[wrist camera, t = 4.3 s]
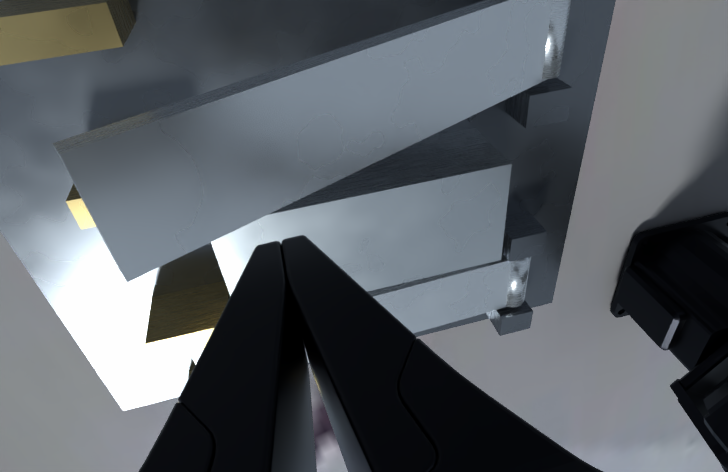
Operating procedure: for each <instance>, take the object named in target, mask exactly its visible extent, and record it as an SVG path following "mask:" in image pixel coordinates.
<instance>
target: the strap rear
mask: <svg viewBox="0 0 728 472" xmlns="http://www.w3.org/2000/svg"><path fill="white" fill-rule="evenodd" d="M530 261H531V257H527V258H523V259H519V260H515V261H510V262H509V261H508V260H507V258H506V257H505V256H504V254H503V253H502V256H501V260H499V261H494V262H490V263H486V264H482V265H478V266H473V267H469V268H465V269H461V270H456V271H452V272H448V273H444V274H439V275H435V276H431V277H427V278H423V279H418V280H414V281H410V282H406V283H401V284H397V285H393V286H389V287H384V288H380V289H376V290H372V291H368V293H369V294H370V295H371V296H372V297H373V298H375V299H376V300H377V301H378V302H379V303H380V304H381V305H382V306H383V307H384V308H386V309H387V310H388V311H389V312H390V313H391V314H392V315H393V316H394V317H396V318H397V319H398V320H399V321H400V322H401V323H402V324H403V325H404V326H405V327H407V328H408V329H409V330H410V331H411V332H412V333H416V332H420V331H424V330H427V329H431V328H434V327H438V326H441V325H445V324H448V323H452V322H455V321H459V320H462V319H466V318H470V317H473V316H477V315H480V314H484V313H487V312H491V311H494V310H498V309H501V308H505V307H519V306H520V305H522V303H523V302H524V298H525V292H526V286H527V280H528V273H529V267H530ZM305 349H306V348H305ZM202 351H203V350H201V351H197V352H193V353H190V354H191V356H192V358H193V360H194V363H195V365H196V363H197V361H198V359H199V357H200V355H201V353H202ZM306 354H307V352H306ZM307 360H308V356H307ZM308 363H309V360H308Z"/></svg>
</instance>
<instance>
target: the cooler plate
mask: <svg viewBox="0 0 728 472" xmlns="http://www.w3.org/2000/svg"><path fill="white" fill-rule="evenodd" d="M480 1H483V0H0V231H1V233H2V234H3V236H4V237H5V239H6V240H7V241H8V243H9V244H10V246H11V247H12V249H13V250H14V252H15V253H16V255H17V256H18V258H19V259H20V260H21V262H22V263H23V265H24V266H25V268H26V269H27V271H28V272H29V274H30V275H31V277H32V278H33V279H34V281H35V282H36V284H37V285H38V287H39V288H40V290H41V291H42V293H43V294H44V296H45V297H46V298H47V300H48V301H49V303H50V304H51V306H52V307H53V309H54V310H55V312H56V313H57V315H58V316H59V317H60V319H61V320H62V322H63V323H64V325H65V326H66V328H67V329H68V331H69V332H70V333H71V335H72V336H73V338H74V339H75V341H76V342H77V344H78V345H79V347H80V348H81V350H82V351H83V352H84V354H85V355H86V357H87V358H88V360H89V361H90V363H91V364H92V366H93V367H94V369H95V370H96V371H97V373H98V374H99V376H100V377H101V379H102V380H103V382H104V383H105V385H106V386H107V388H108V389H109V390H110V392H111V393H112V395H113V396H114V398H115V399H116V401H117V402H118V404H119V405H120V407H121V408H122V409H123V411H125V410H129V409H133V408H137V407H141V406H145V405H149V404H153V403H156V402H160V401H164V400H168V399H172V398H176V397H180V395H181V393H182V391H183V389H184V387H185V385H186V383H187V381H188V379H189V377H190V375H191V373H192V371H193V369H194V367H195V363H194V360H193V358H192V356H191V354H190V353H193V352H197V351H201V350H203V349H204V347H205V345H206V343H207V341H208V339H209V338H210V336H211V334H212V332H213V330H214V328H215V326H216V324H217V322H218V320H219V318H220V316H221V314H222V312H223V310H224V308H225V306H226V304H227V302H228V300H229V298H230V296H231V294H232V292H233V290H234V288H235V286H236V284H237V282H238V280H239V278H240V277H241V275H242V273H243V271H244V269H245V267H246V265H247V263H248V261H249V259H250V257H251V255H252V253H253V251H254V249H255V247H256V246H257V245H260V244H265V243H269V242H273V241H279V242H280V243H281V242H282V240H283V239H286V238H291V237H295V236H299V235H304V236H306V237H307V238H308V239H309V240H311V241H312V242H313V243H314V244H315V245H316V246H317V247H318V248H319V249H320V250H322V251H323V252H324V253H325V254H326V255H327V256H328V257H329V258H330V259H332V260H333V261H334V262H335V263H336V264H337V265H338V266H339V267H340V268H341V269H343V270H344V271H345V272H346V273H347V274H348V275H349V276H350V277H351V278H352V279H354V280H355V281H356V282H357V283H358V284H359V285H360V286H361V287H362V288H364V289H365V290H366V291H367V292H368V291H372V290H376V289H380V288H384V287H389V286H393V285H397V284H401V283H406V282H410V281H414V280H418V279H423V278H427V277H431V276H435V275H439V274H444V273H448V272H452V271H456V270H461V269H465V268H469V267H473V266H478V265H482V264H486V263H490V262H494V261H499V260H501V256H502V253H503V254H504V256H505V257H506V258H507V260H508V261H509V262H510V261H515V260H519V259H523V258H527V257H531V261H530V267H529V273H528V280H527V286H526V292H525V298H524V302H523V303H522V305H520V306H519V307H505V308H501V309H498V310H494V311H491V312H487V313H484V314H480V315H477V316H473V317H470V318H466V319H462V320H459V321H455V322H452V323H448V324H445V325H441V326H438V327H434V328H431V329H427V330H424V331H420V332H416V333H413V334H414V335H415V336H416V337H418V336H421V335H425V334H429V333H433V332H437V331H441V330H445V329H449V328H453V327H457V326H461V325H465V324H469V323H473V322H477V321H481V320H485V319H490V321H491V322H492V324H493V325H494V327H495V329H496V330H497V332H498V334H499V335H500V336H501V335H505V334H509V333H513V332H516V331H520V330H524V329H528V328H530V325H531V320H532V314H533V310H532V309H531V308H532V307H536V306H540V305H544V304H548V303H552V300H553V295H554V291H555V286H556V281H557V276H558V272H559V267H560V262H561V257H562V253H563V248H564V243H565V238H566V234H567V229H568V224H569V219H570V215H571V210H572V205H573V200H574V196H575V191H576V186H577V181H578V177H579V172H580V167H581V162H582V158H583V153H584V148H585V143H586V139H587V134H588V129H589V124H590V120H591V115H592V110H593V105H594V101H595V96H596V91H597V86H598V82H599V77H600V72H601V67H602V63H603V58H604V53H605V48H606V44H607V39H608V34H609V29H610V25H611V20H612V15H613V10H614V6H615V1H616V0H571V5H570V11H569V17H568V24H567V30H566V36H565V43H564V49H563V55H562V61H561V68H560V74H559V76H557V77H555V78H552V79H547V80H545V81H543V82H541V83H539V84H537V85H535V86H533V87H530V88H528V89H526V90H524V91H522V92H520V93H518V94H516V95H514V96H512V97H510V98H508V99H506V100H504V101H502V102H499V103H497V104H495V105H493V106H491V107H489V108H487V109H485V110H483V111H481V112H479V113H477V114H475V115H473V116H471V117H468V118H466V119H464V120H462V121H460V122H458V123H456V124H454V125H452V126H450V127H448V128H446V129H444V130H442V131H440V132H437V133H435V134H433V135H431V136H429V137H427V138H425V139H423V140H421V141H419V142H417V143H415V144H413V145H411V146H409V147H406V148H404V149H402V150H400V151H398V152H396V153H394V154H392V155H390V156H388V157H386V158H384V159H382V160H380V161H378V162H375V163H373V164H371V165H369V166H367V167H365V168H363V169H361V170H359V171H357V172H355V173H353V174H351V175H349V176H347V177H344V178H342V179H340V180H338V181H336V182H334V183H332V184H330V185H328V186H326V187H324V188H322V189H320V190H318V191H316V192H313V193H311V194H309V195H307V196H305V197H303V198H301V199H299V200H297V201H295V202H293V203H291V204H289V205H287V206H284V207H282V208H280V209H278V210H276V211H274V212H272V213H270V214H268V215H266V216H264V217H262V218H260V219H258V220H256V221H253V222H251V223H249V224H247V225H245V226H243V227H241V228H239V229H237V230H235V231H233V232H231V233H229V234H227V235H225V236H222V237H220V238H218V239H216V240H214V241H212V242H210V243H208V244H206V245H204V246H202V247H200V248H198V249H196V250H194V251H191V252H189V253H187V254H185V255H183V256H181V257H179V258H177V259H175V260H173V261H171V262H169V263H167V264H165V265H163V266H160V267H158V268H156V269H154V270H152V271H150V272H148V273H146V274H144V275H142V276H140V277H138V278H136V279H134V280H132V281H129V282H127V281H126V280H125V278H124V276H123V275H122V273H121V272H120V270H119V268H118V266H117V265H116V263H115V261H114V259H113V257H112V255H111V253H110V251H109V249H108V248H107V246H106V244H105V242H104V240H103V238H102V236H101V234H100V232H99V231H98V229H97V227H96V225H95V223H94V221H93V219H92V217H91V215H90V214H89V212H88V210H87V208H86V206H85V204H84V202H83V200H82V198H81V196H80V195H79V193H78V191H77V189H76V187H75V185H74V183H73V181H72V179H71V178H70V176H69V174H68V172H67V170H66V168H65V166H64V164H63V162H62V161H61V159H60V157H59V155H58V153H57V151H56V149H55V147H54V145H53V144H52V143H55V142H58V141H61V140H64V139H67V138H70V137H73V136H76V135H79V134H82V133H85V132H88V131H91V130H94V129H97V128H100V127H103V126H106V125H109V124H112V123H115V122H118V121H121V120H124V119H127V118H130V117H133V116H136V115H139V114H142V113H145V112H148V111H151V110H154V109H157V108H160V107H163V106H166V105H169V104H172V103H175V102H178V101H182V100H185V99H188V98H191V97H194V96H197V95H200V94H203V93H206V92H209V91H212V90H215V89H218V88H221V87H224V86H227V85H230V84H233V83H236V82H239V81H242V80H245V79H248V78H251V77H254V76H257V75H260V74H263V73H266V72H269V71H272V70H275V69H278V68H281V67H284V66H287V65H290V64H293V63H296V62H299V61H302V60H305V59H308V58H311V57H314V56H317V55H320V54H323V53H326V52H329V51H332V50H335V49H338V48H341V47H344V46H347V45H350V44H353V43H356V42H359V41H362V40H366V39H369V38H372V37H375V36H378V35H381V34H384V33H387V32H390V31H393V30H396V29H399V28H402V27H405V26H408V25H411V24H414V23H417V22H420V21H423V20H426V19H429V18H432V17H435V16H438V15H441V14H444V13H447V12H450V11H453V10H456V9H459V8H462V7H465V6H468V5H471V4H474V3H477V2H480ZM308 364H310V363H308Z"/></svg>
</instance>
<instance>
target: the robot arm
mask: <svg viewBox="0 0 728 472" xmlns="http://www.w3.org/2000/svg"><path fill="white" fill-rule="evenodd" d="M610 311H611V313H612V314H613V315H614V316H615V317H617V318H618V317H623V316H626V315H630V316H631V317H632V318H633V320H634V321H635V322H636V323H637V324H638V325H639V326H640V327H641V328H642V329H643V330H644V331H645V332H646V333H647V335H648V336H649V337H650V338H651V339H652V340H653V341H654V342H655V343H656V344H657V345H658V346H659V347H660V348H661V349H663V350H670V351H671V352H672V353H673V354H674V355H675V356H676V358H677V359H678V360H679V361H680V362H681V363H682V364H683V365H684V366H685V367H686V368H687V369H688V370H689V372H688V373H687V374H686V375H685V376H683V377H682V378H681V379H677V380H676V381H674V382H673V383H672V384H671V385H670V387H671V389H672V390H673V391H674V393H675V394H676V396H677V397H678V402H679V403H680V405H681V406H682V407H683V409H684V410H685V412H686V413H687V415H688V416H689V418H690V419H691V421H692V422H693V424H694V425H695V427H696V428H697V429H698V431H699V432H700V434H701V435H702V437H703V438H704V440H705V441H706V443H707V444H708V446H709V447H710V449H711V450H712V451H713V453H714V454H715V456H716V457H717V459H718V460H719V462H720V464H721V466H722V468H723V469H724V471H725V472H728V212H724V213H720V214H716V215H712V216H708V217H703V218H699V219H695V220H691V221H687V222H682V223H678V224H674V225H670V226H666V227H661V228H657V229H653V230H649V231H645V232H641V233H639V234H637V235H636V236H635V237H634V238H633V240H632V243H631V246H630V249H629V252H628V255H627V258H626V262H625V265H624V268H623V271H622V274H621V277H620V280H619V284H618V287H617V290H616V293H615V296H614V299H613V302H612V306H611V309H610ZM305 348H306V349H305ZM306 352H307V354H306ZM307 356H308V360H309V363H310V366H311V369H312V372H313V375H314V378H315V381H316V383H317V386H318V389H319V392H320V394H321V397H322V400H323V403H324V406H325V408H326V411H327V414H328V417H329V419H330V422H331V425H332V428H333V431H334V433H335V436H336V439H337V442H338V444H339V447H340V450H341V453H342V456H343V458H344V461H345V464H346V467H347V469H348V472H603V471H601V470H599V469H597V468H595V467H593V466H591V465H589V464H588V463H586V462H584V461H582V460H581V459H579V458H578V457H576V456H575V455H573V454H572V453H570V452H569V451H567V450H566V449H564V448H563V447H561V446H560V445H559V444H557V443H556V442H554V441H553V440H551V439H550V438H549V437H547V436H546V435H544V434H543V433H541V432H540V431H539V430H537V429H536V428H534V427H533V426H531V425H530V424H529V423H527V422H526V421H524V420H523V419H522V418H520V417H519V416H517V415H516V414H514V413H513V412H512V411H510V410H509V409H507V408H506V407H504V406H503V405H502V404H500V403H499V402H497V401H496V400H494V399H493V398H492V397H490V396H489V395H487V394H486V393H485V392H483V391H482V390H481V389H479V388H478V387H477V386H475V385H474V384H473V383H471V382H470V381H469V380H467V379H466V378H465V377H463V376H462V375H460V374H459V373H458V372H457V371H456V370H454V369H453V368H452V367H451V366H450V365H449V364H447V363H446V362H445V361H444V360H443V359H441V358H440V357H439V356H438V355H437V354H435V353H434V352H433V351H432V350H431V349H430V348H429V347H428V346H427V345H426V344H425V343H423V342H422V341H421V340H420V339H416V336H415V335H414V334H413V333H412V332H411V331H410V330H409V329H408V328H407V327H405V326H404V325H403V324H402V323H401V322H400V321H399V320H398V319H397V318H396V317H394V316H393V315H392V314H391V313H390V312H389V311H388V310H387V309H386V308H384V307H383V306H382V305H381V304H380V303H379V302H378V301H377V300H376V299H375V298H373V297H372V296H371V295H370V294H369V293H368V292H367V291H366V290H365V289H364V288H362V287H361V286H360V285H359V284H358V283H357V282H356V281H355V280H354V279H352V278H351V277H350V276H349V275H348V274H347V273H346V272H345V271H344V270H343V269H341V268H340V267H339V266H338V265H337V264H336V263H335V262H334V261H333V260H332V259H330V258H329V257H328V256H327V255H326V254H325V253H324V252H323V251H322V250H320V249H319V248H318V247H317V246H316V245H315V244H314V243H313V242H312V241H311V240H309V239H308V238H307V237H306V236H304V235H299V236H295V237H291V238H286V239H283V240H282V242H281V243H280V242H279V241H273V242H269V243H265V244H260V245H257V246H256V247H255V249H254V251H253V253H252V255H251V257H250V259H249V261H248V263H247V265H246V267H245V269H244V271H243V273H242V275H241V277H240V278H239V280H238V282H237V284H236V286H235V288H234V290H233V292H232V294H231V296H230V298H229V300H228V302H227V304H226V306H225V308H224V310H223V312H222V314H221V316H220V318H219V320H218V322H217V324H216V326H215V328H214V330H213V332H212V334H211V336H210V338H209V339H208V341H207V343H206V345H205V347H204V349H203V351H202V353H201V355H200V357H199V359H198V361H197V363H196V365H195V367H194V369H193V371H192V373H191V375H190V377H189V379H188V381H187V383H186V385H185V387H184V389H183V391H182V393H181V395H180V397H179V399H178V400H179V402H178V403H176V404H175V406H174V408H173V410H172V412H171V414H170V416H169V418H168V420H167V422H166V424H165V425H164V427H163V429H162V431H161V433H160V435H159V437H158V438H157V440H156V442H155V444H154V446H153V448H152V449H151V451H150V453H149V455H148V457H147V459H146V460H145V462H144V464H143V465H142V467H141V469H140V470H139V472H317V469H316V456H315V443H314V430H313V417H312V404H311V392H310V379H309V368H308V360H307Z"/></svg>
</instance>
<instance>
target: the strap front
mask: <svg viewBox="0 0 728 472" xmlns="http://www.w3.org/2000/svg"><path fill="white" fill-rule="evenodd" d="M570 5H571V0H483V1H480V2H477V3H474V4H471V5H468V6H465V7H462V8H459V9H456V10H453V11H450V12H447V13H444V14H441V15H438V16H435V17H432V18H429V19H426V20H423V21H420V22H417V23H414V24H411V25H408V26H405V27H402V28H399V29H396V30H393V31H390V32H387V33H384V34H381V35H378V36H375V37H372V38H369V39H366V40H362V41H359V42H356V43H353V44H350V45H347V46H344V47H341V48H338V49H335V50H332V51H329V52H326V53H323V54H320V55H317V56H314V57H311V58H308V59H305V60H302V61H299V62H296V63H293V64H290V65H287V66H284V67H281V68H278V69H275V70H272V71H269V72H266V73H263V74H260V75H257V76H254V77H251V78H248V79H245V80H242V81H239V82H236V83H233V84H230V85H227V86H224V87H221V88H218V89H215V90H212V91H209V92H206V93H203V94H200V95H197V96H194V97H191V98H188V99H185V100H182V101H178V102H175V103H172V104H169V105H166V106H163V107H160V108H157V109H154V110H151V111H148V112H145V113H142V114H139V115H136V116H133V117H130V118H127V119H124V120H121V121H118V122H115V123H112V124H109V125H106V126H103V127H100V128H97V129H94V130H91V131H88V132H85V133H82V134H79V135H76V136H73V137H70V138H67V139H64V140H61V141H58V142H55V143H52V144H53V145H54V147H55V149H56V151H57V153H58V155H59V157H60V159H61V161H62V162H63V164H64V166H65V168H66V170H67V172H68V174H69V176H70V178H71V179H72V181H73V183H74V185H75V187H76V189H77V191H78V193H79V195H80V196H81V198H82V200H83V202H84V204H85V206H86V208H87V210H88V212H89V214H90V215H91V217H92V219H93V221H94V223H95V225H96V227H97V229H98V231H99V232H100V234H101V236H102V238H103V240H104V242H105V244H106V246H107V248H108V249H109V251H110V253H111V255H112V257H113V259H114V261H115V263H116V265H117V266H118V268H119V270H120V272H121V273H122V275H123V276H124V278H125V280H126V281H127V282H129V281H132V280H134V279H136V278H138V277H140V276H142V275H144V274H146V273H148V272H150V271H152V270H154V269H156V268H158V267H160V266H163V265H165V264H167V263H169V262H171V261H173V260H175V259H177V258H179V257H181V256H183V255H185V254H187V253H189V252H191V251H194V250H196V249H198V248H200V247H202V246H204V245H206V244H208V243H210V242H212V241H214V240H216V239H218V238H220V237H222V236H225V235H227V234H229V233H231V232H233V231H235V230H237V229H239V228H241V227H243V226H245V225H247V224H249V223H251V222H253V221H256V220H258V219H260V218H262V217H264V216H266V215H268V214H270V213H272V212H274V211H276V210H278V209H280V208H282V207H284V206H287V205H289V204H291V203H293V202H295V201H297V200H299V199H301V198H303V197H305V196H307V195H309V194H311V193H313V192H316V191H318V190H320V189H322V188H324V187H326V186H328V185H330V184H332V183H334V182H336V181H338V180H340V179H342V178H344V177H347V176H349V175H351V174H353V173H355V172H357V171H359V170H361V169H363V168H365V167H367V166H369V165H371V164H373V163H375V162H378V161H380V160H382V159H384V158H386V157H388V156H390V155H392V154H394V153H396V152H398V151H400V150H402V149H404V148H406V147H409V146H411V145H413V144H415V143H417V142H419V141H421V140H423V139H425V138H427V137H429V136H431V135H433V134H435V133H437V132H440V131H442V130H444V129H446V128H448V127H450V126H452V125H454V124H456V123H458V122H460V121H462V120H464V119H466V118H468V117H471V116H473V115H475V114H477V113H479V112H481V111H483V110H485V109H487V108H489V107H491V106H493V105H495V104H497V103H499V102H502V101H504V100H506V99H508V98H510V97H512V96H514V95H516V94H518V93H520V92H522V91H524V90H526V89H528V88H530V87H533V86H535V85H537V84H539V83H541V82H543V81H545V80H547V79H552V78H555V77H557V76H559V74H560V68H561V61H562V55H563V49H564V43H565V36H566V30H567V24H568V17H569V11H570Z"/></svg>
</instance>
